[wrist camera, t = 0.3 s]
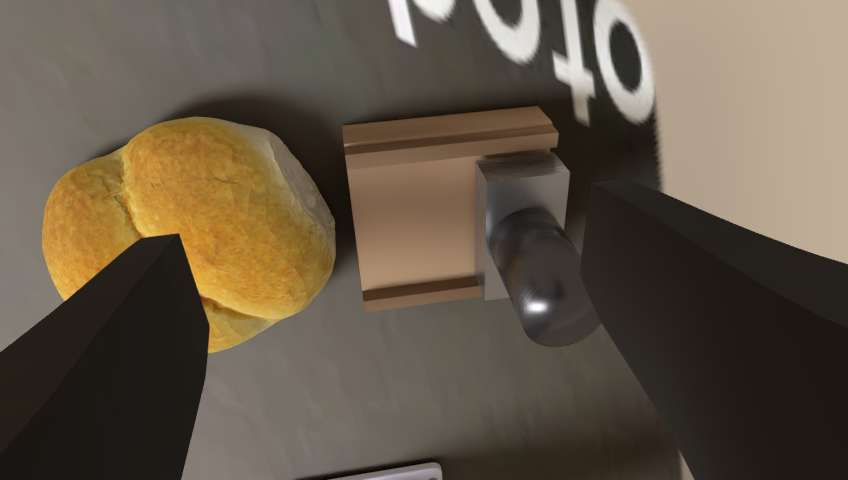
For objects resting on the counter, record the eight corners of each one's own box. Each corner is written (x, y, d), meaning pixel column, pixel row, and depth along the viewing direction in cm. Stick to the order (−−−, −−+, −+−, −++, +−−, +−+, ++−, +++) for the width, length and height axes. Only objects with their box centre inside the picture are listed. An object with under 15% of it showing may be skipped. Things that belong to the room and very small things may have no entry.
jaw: (543, 265, 22) (600, 367, 17) (474, 274, 21) (515, 380, 17) (553, 151, 19) (623, 237, 15) (475, 160, 19) (524, 250, 14)
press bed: (526, 258, 24) (544, 290, 22) (361, 279, 23) (365, 314, 21) (537, 106, 20) (558, 129, 18) (341, 125, 19) (344, 152, 18)
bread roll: (7, 199, 19) (-57, 269, 16) (240, 67, 18) (223, 113, 15) (175, 353, 24) (152, 433, 20) (369, 255, 23) (379, 323, 19)
